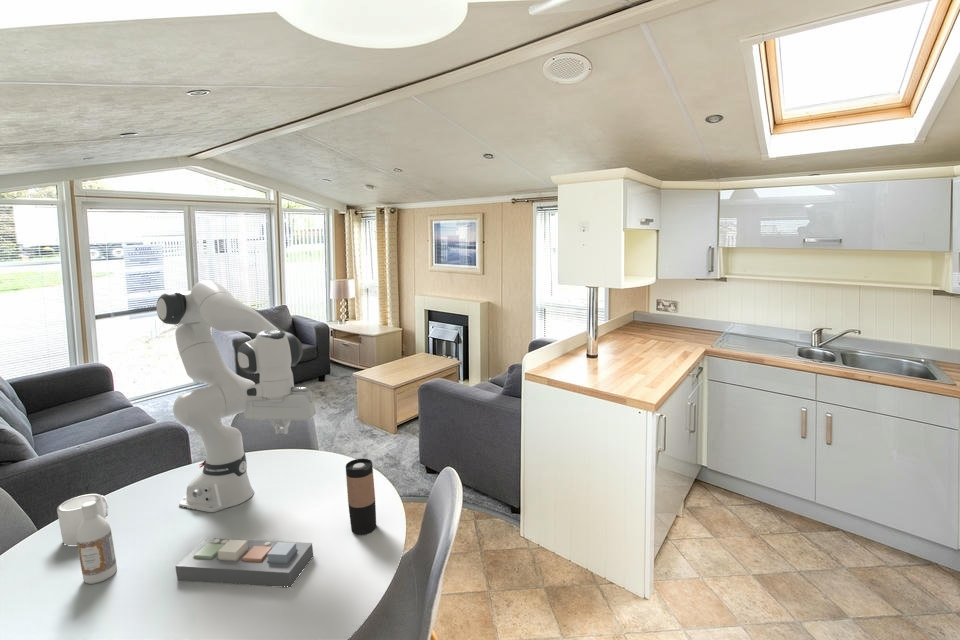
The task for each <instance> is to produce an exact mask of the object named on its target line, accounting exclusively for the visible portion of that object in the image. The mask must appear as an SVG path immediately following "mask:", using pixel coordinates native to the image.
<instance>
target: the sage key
mask: <svg viewBox="0 0 960 640" xmlns="http://www.w3.org/2000/svg"><path fill="white" fill-rule="evenodd" d="M223 546H224V544H208V543H207V544H206V545H205V546H204V547H202V548H201V549H200V550H199V551H198V552H197V553H196V554H195V555H194V559H211V560H212V559H213V558H215V557H216V556H217V555H218V550H219V549H220V548H221V547H223Z"/></svg>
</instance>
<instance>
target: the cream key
mask: <svg viewBox="0 0 960 640" xmlns="http://www.w3.org/2000/svg"><path fill="white" fill-rule="evenodd" d="M247 540H248V539H241V540H229V541H228V542H227V543H226V544H225V545H224V546H223V547H221V548H220V549H219V550H218V559H219V560H229V561H237V560H238V559H239V558H240V557H241V556H242V555H243V554H244V553H245V552H246V551H247V550H248V541H247Z"/></svg>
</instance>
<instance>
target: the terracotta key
mask: <svg viewBox="0 0 960 640" xmlns="http://www.w3.org/2000/svg"><path fill="white" fill-rule="evenodd" d="M271 549H272V547H267V546H254V547H253V548H252V549H251V550H250V551H249V552H248V553H247V554H246V555H245V556H244V557H243V561H246V562H263V561H264V559H265V558H266V557H267V554H268V553H269V551H270V550H271Z"/></svg>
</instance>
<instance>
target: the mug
mask: <svg viewBox="0 0 960 640" xmlns="http://www.w3.org/2000/svg"><path fill="white" fill-rule="evenodd" d="M89 501H96V504H97V511H98V515H100V516H101V517H103V518H104V519H105V520H106V518H107V516H108V514H109V504H108V503H109V502H108V500H107V497H105V496H104V495H101V494H99V493H88V494H82V495H79V496H75V497H72V498H70V499H67V500H65V501H64V502H62V503H61V504H59V505H58V506H57V508H56V512H57V517H58V523H59V528H60V535H61V538H62V539H61V540H62V544H63V543H64V544H66V545H77V541H76V535H77V531H78V528H79V526H80V524H81V523H82V521H83V519H84V518H83V513H82V505H83V504H84V503H86V502H89ZM64 544H63V545H64Z"/></svg>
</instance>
